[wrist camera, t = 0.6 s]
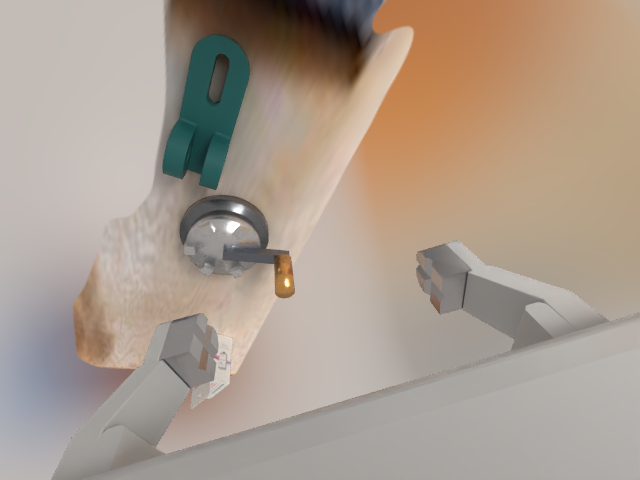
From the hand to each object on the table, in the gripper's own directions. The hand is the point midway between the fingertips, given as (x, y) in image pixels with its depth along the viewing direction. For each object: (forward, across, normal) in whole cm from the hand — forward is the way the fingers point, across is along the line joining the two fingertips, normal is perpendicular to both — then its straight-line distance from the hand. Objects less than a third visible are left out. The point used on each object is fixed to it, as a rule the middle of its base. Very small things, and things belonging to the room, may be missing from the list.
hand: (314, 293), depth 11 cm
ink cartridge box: (+42, +30, +50) cm, 72 cm away
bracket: (+37, +8, -2) cm, 38 cm away
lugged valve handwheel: (+36, +12, +19) cm, 43 cm away
